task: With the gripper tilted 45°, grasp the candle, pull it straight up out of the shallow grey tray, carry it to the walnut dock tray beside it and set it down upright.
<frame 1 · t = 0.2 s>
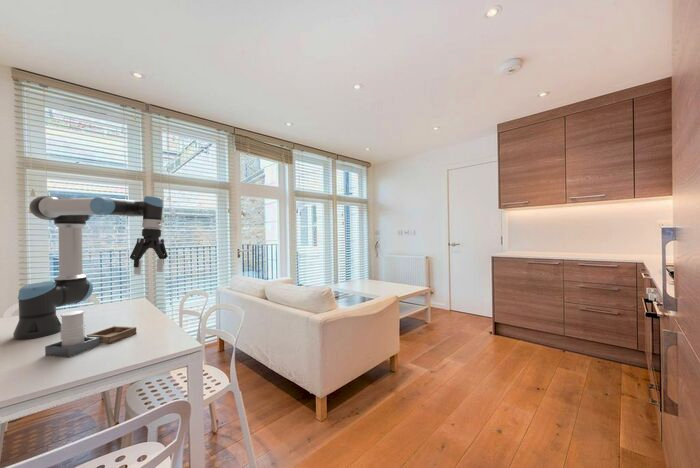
hand: (149, 273, 136), 27 cm above the table, tool pointing down, fingers open, 13 cm apart
dock tray: (112, 337, 127), on the table
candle: (73, 351, 113), resting in shallow grey tray
shallow grey tray: (73, 350, 113), on the table
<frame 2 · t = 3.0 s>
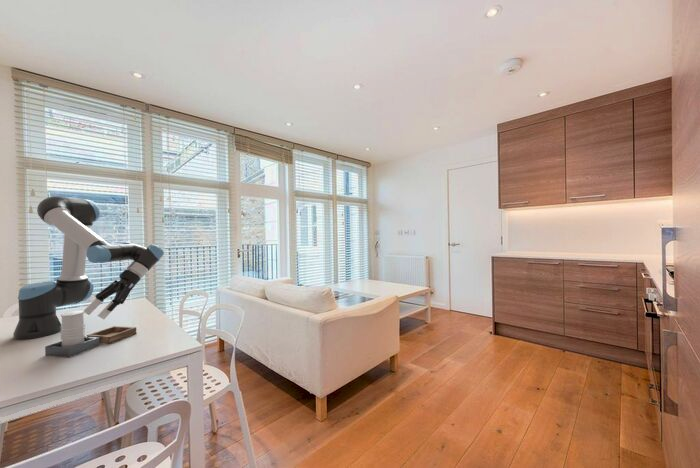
hand: (93, 315, 118), 13 cm above the table, tool tilted 45°, fingers open, 13 cm apart
nothing on the table moved.
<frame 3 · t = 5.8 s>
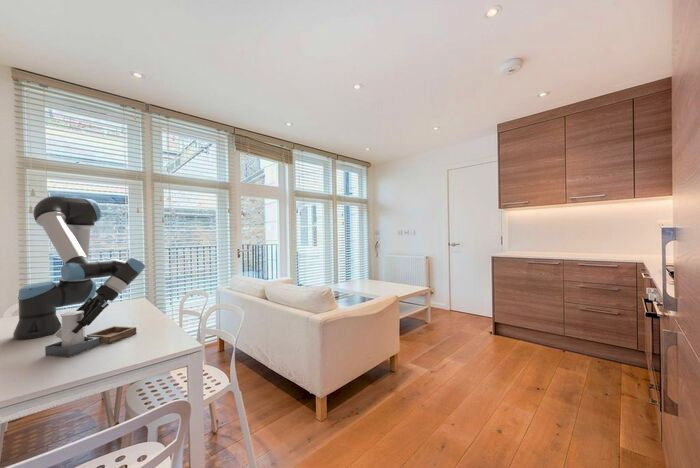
hand: (60, 338, 110), 6 cm above the table, tool tilted 45°, fingers closed on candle, 7 cm apart
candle: (73, 351, 113), resting in shallow grey tray, touching gripper
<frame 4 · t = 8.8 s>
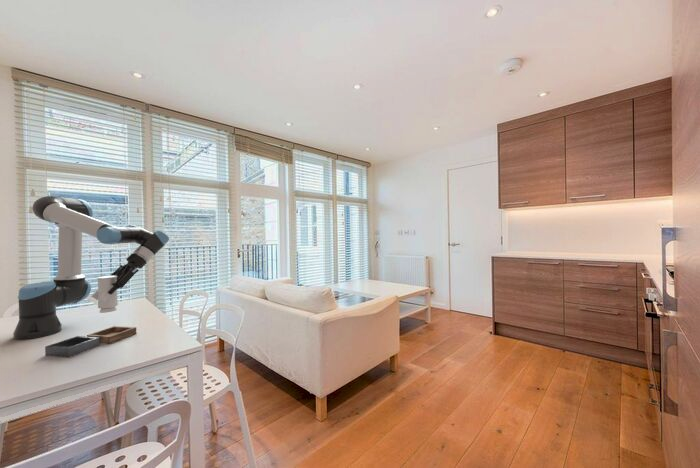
hand: (97, 298, 122), 19 cm above the table, tool tilted 45°, fingers closed on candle, 7 cm apart
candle: (108, 311, 125), point 12 cm above the table, touching gripper
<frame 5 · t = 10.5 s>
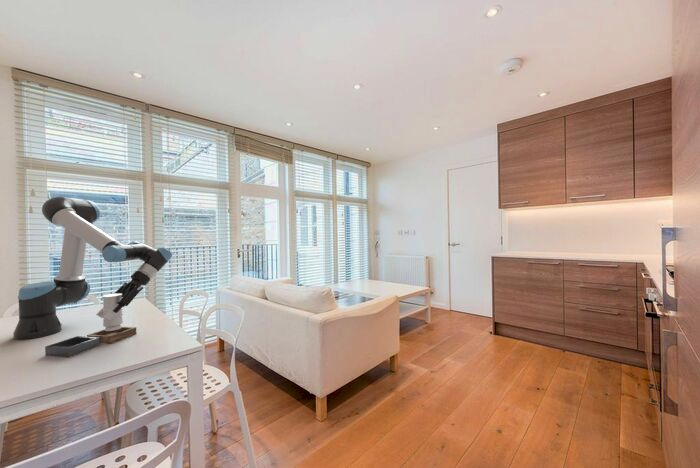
hand: (103, 317, 124), 10 cm above the table, tool tilted 45°, fingers closed on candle, 7 cm apart
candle: (113, 329, 127), point 4 cm above the table, touching gripper
when the fingers open (8 cm above the table, at t = 11.7 s): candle drops 1 cm, resting on dock tray.
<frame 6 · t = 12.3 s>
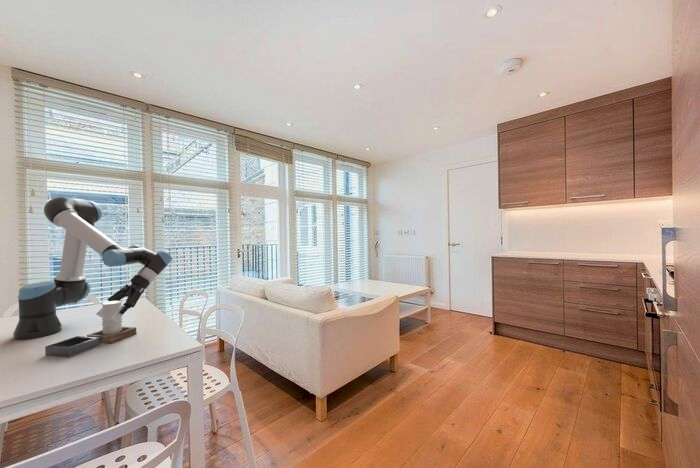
hand: (105, 318, 125), 9 cm above the table, tool tilted 45°, fingers open, 13 cm apart
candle: (112, 336, 127), point 1 cm above the table, touching dock tray
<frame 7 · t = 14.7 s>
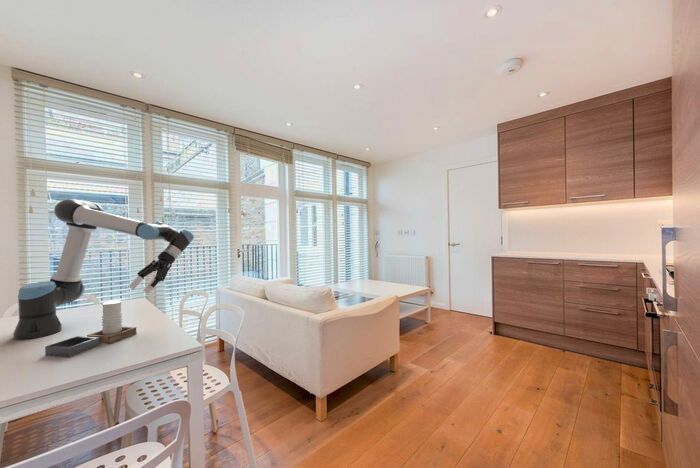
hand: (138, 290, 136), 19 cm above the table, tool tilted 40°, fingers open, 13 cm apart
nothing on the table moved.
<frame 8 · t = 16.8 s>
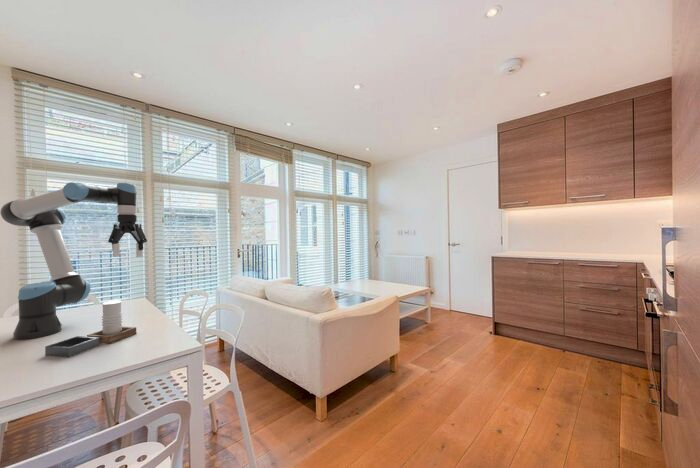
hand: (127, 256, 143), 35 cm above the table, tool pointing down, fingers open, 13 cm apart
nothing on the table moved.
at the end: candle 0.1 cm off-centre on the dock tray, point 0.6 cm above the dock tray's base; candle tilted 0°; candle touching dock tray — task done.
